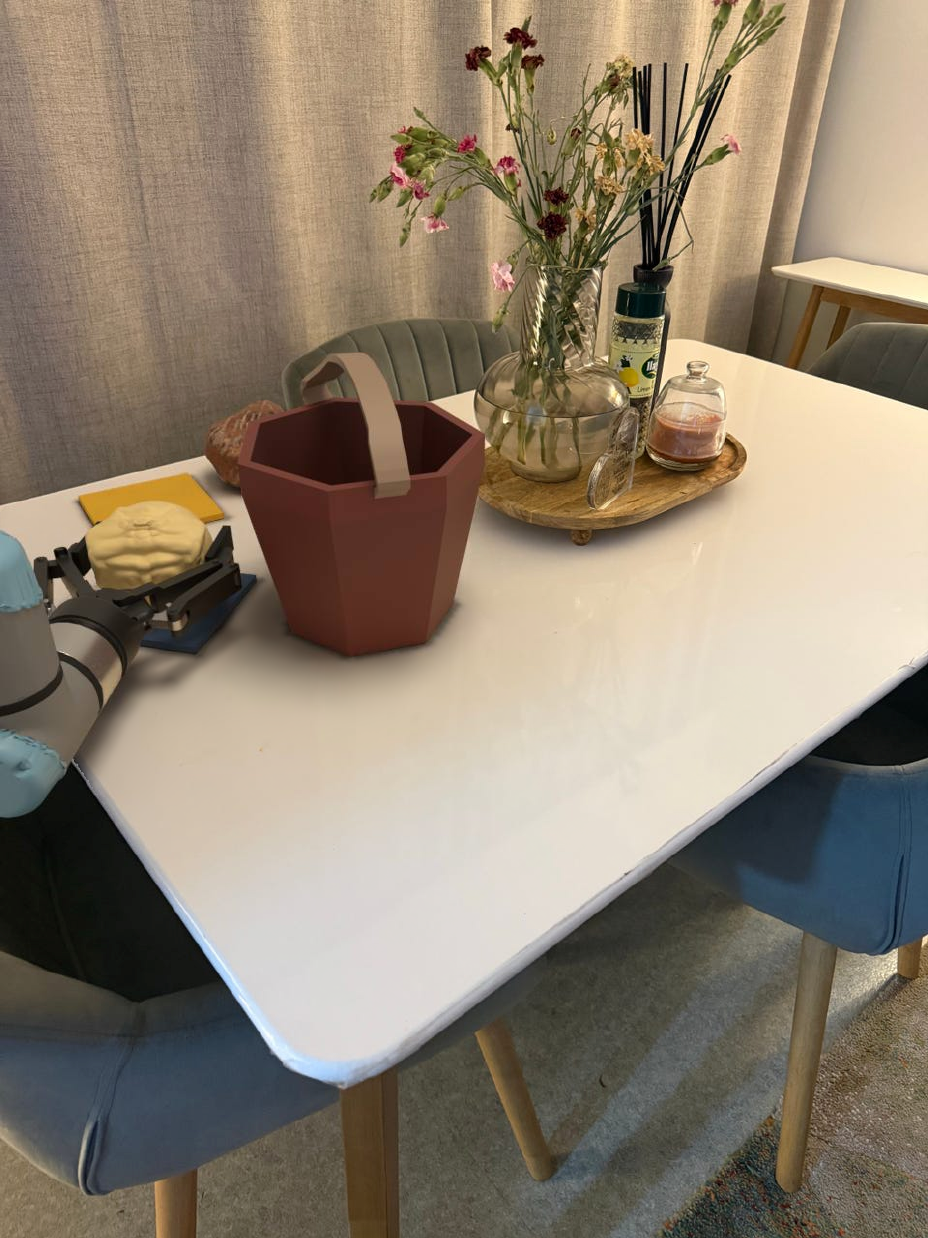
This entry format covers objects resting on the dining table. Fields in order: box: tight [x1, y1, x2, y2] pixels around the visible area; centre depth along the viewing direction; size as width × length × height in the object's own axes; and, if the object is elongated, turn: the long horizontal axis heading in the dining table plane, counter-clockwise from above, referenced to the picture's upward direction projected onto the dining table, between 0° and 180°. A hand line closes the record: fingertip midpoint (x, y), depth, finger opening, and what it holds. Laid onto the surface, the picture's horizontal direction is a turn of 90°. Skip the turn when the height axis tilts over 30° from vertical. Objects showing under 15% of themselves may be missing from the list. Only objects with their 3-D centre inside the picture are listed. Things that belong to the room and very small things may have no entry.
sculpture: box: [84, 501, 214, 606], centre depth 88 cm, size 11×12×11 cm
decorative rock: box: [204, 399, 284, 488], centre depth 116 cm, size 13×11×10 cm
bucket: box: [237, 352, 486, 657], centre depth 85 cm, size 24×22×25 cm
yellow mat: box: [77, 472, 225, 526], centre depth 110 cm, size 14×14×1 cm
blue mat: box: [140, 572, 258, 655], centre depth 91 cm, size 14×14×1 cm
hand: (166, 534), depth 91 cm, fingers open, 12 cm apart
